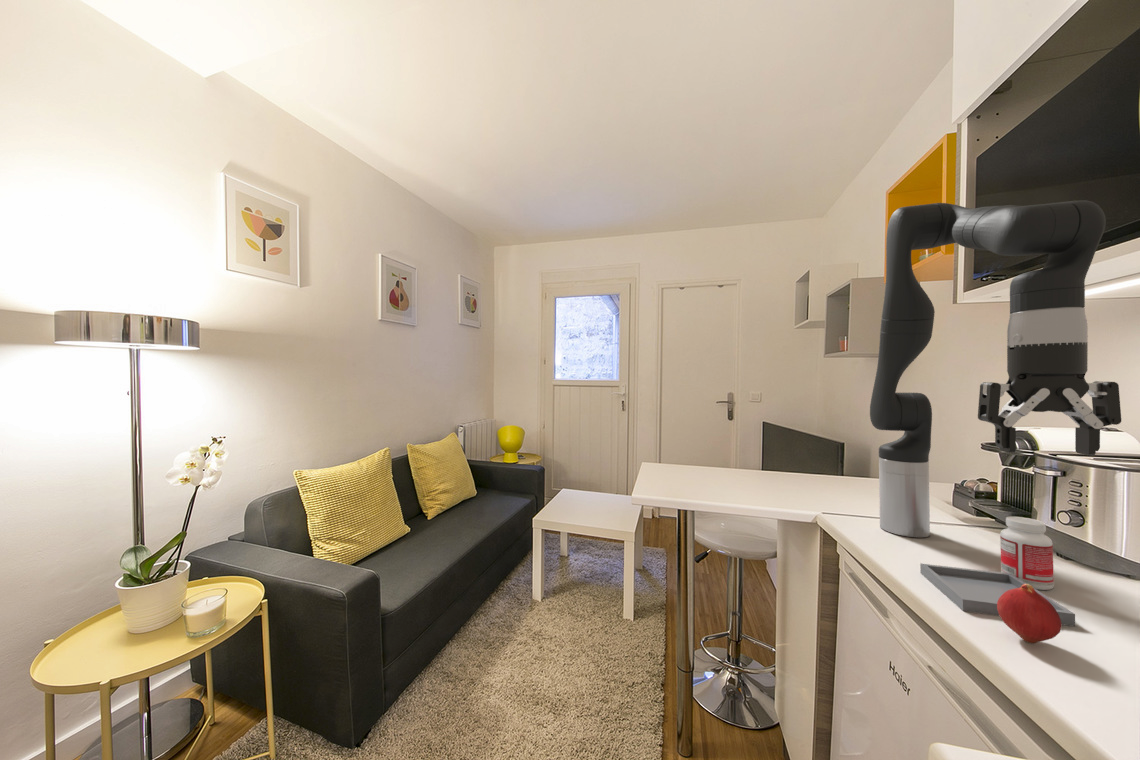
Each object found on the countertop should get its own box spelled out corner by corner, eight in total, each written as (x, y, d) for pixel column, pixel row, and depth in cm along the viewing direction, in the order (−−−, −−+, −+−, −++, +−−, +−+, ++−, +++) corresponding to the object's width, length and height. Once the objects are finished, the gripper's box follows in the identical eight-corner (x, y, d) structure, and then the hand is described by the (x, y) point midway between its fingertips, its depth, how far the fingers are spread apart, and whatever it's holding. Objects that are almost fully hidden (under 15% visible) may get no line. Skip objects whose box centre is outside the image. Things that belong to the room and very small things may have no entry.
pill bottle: (1059, 586, 69) (1058, 522, 70) (1046, 594, 67) (1045, 528, 67) (1008, 571, 75) (1007, 512, 75) (994, 578, 72) (993, 517, 72)
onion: (994, 623, 59) (993, 569, 59) (1054, 639, 55) (1053, 581, 55) (1002, 643, 54) (1001, 585, 55) (1068, 662, 51) (1066, 599, 51)
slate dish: (920, 573, 75) (920, 563, 75) (1010, 583, 70) (1010, 573, 70) (962, 610, 62) (962, 599, 62) (1075, 626, 58) (1075, 614, 58)
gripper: (1089, 342, 59) (1088, 450, 59) (967, 345, 64) (967, 446, 64) (1140, 338, 52) (1140, 461, 52) (999, 342, 57) (999, 455, 57)
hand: (1045, 452), depth 58 cm, fingers open, 8 cm apart
